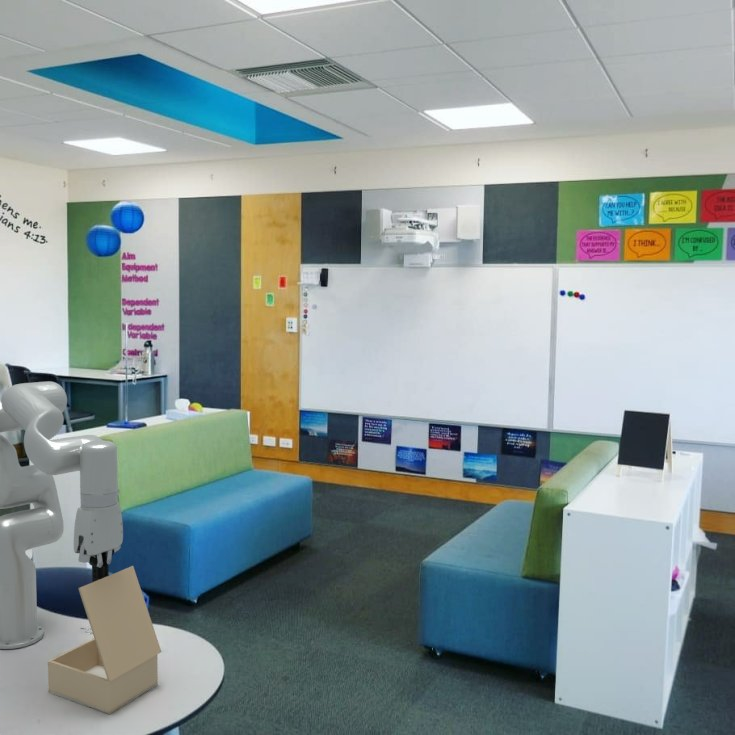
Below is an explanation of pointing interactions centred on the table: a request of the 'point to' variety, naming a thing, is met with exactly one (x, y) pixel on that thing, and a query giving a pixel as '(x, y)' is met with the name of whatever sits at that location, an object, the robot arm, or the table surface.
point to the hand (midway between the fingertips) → (100, 582)
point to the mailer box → (97, 679)
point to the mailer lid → (120, 622)
